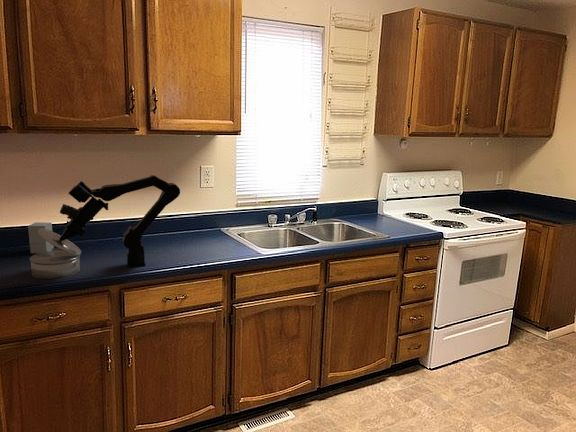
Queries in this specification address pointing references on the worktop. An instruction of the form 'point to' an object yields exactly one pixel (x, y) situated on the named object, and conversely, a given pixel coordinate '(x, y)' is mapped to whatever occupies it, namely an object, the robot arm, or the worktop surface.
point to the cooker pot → (54, 264)
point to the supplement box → (39, 238)
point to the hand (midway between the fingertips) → (60, 240)
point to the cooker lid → (54, 240)
